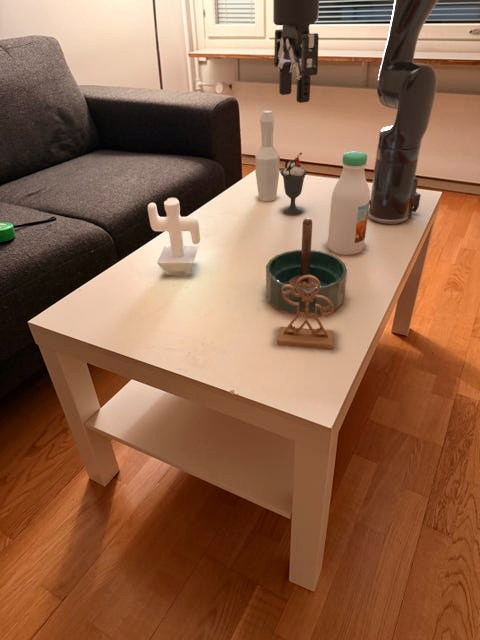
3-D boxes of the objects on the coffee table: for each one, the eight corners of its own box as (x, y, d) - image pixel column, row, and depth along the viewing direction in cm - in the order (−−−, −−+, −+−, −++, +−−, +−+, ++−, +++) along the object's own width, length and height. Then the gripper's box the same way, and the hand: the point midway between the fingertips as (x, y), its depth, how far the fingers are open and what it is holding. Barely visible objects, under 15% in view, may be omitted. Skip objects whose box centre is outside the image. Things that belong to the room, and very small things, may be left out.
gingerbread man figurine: (333, 334, 76) (339, 271, 69) (332, 349, 73) (339, 284, 66) (279, 330, 77) (280, 267, 70) (276, 345, 74) (277, 280, 67)
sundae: (304, 216, 115) (307, 155, 106) (278, 215, 116) (278, 154, 107) (307, 206, 120) (310, 147, 111) (281, 205, 121) (282, 146, 113)
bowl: (323, 271, 93) (325, 244, 89) (357, 309, 82) (361, 280, 78) (256, 284, 90) (255, 257, 86) (282, 325, 79) (282, 295, 75)
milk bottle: (342, 259, 97) (351, 162, 85) (320, 245, 102) (326, 152, 91) (371, 250, 99) (384, 155, 88) (348, 236, 105) (358, 146, 93)
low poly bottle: (257, 193, 129) (255, 108, 116) (279, 194, 128) (281, 108, 115) (254, 202, 124) (252, 114, 111) (278, 202, 123) (279, 114, 110)
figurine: (200, 279, 92) (193, 207, 83) (154, 279, 93) (142, 208, 84) (205, 261, 98) (199, 193, 89) (161, 261, 99) (151, 193, 90)
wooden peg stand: (311, 283, 88) (316, 209, 79) (324, 298, 84) (330, 222, 75) (284, 289, 87) (285, 214, 78) (295, 304, 82) (298, 227, 74)
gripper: (337, -13, 71) (329, 103, 80) (300, -11, 82) (297, 90, 91) (291, -10, 69) (288, 107, 78) (260, -9, 80) (261, 93, 90)
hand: (293, 98), depth 85 cm, fingers open, 8 cm apart
